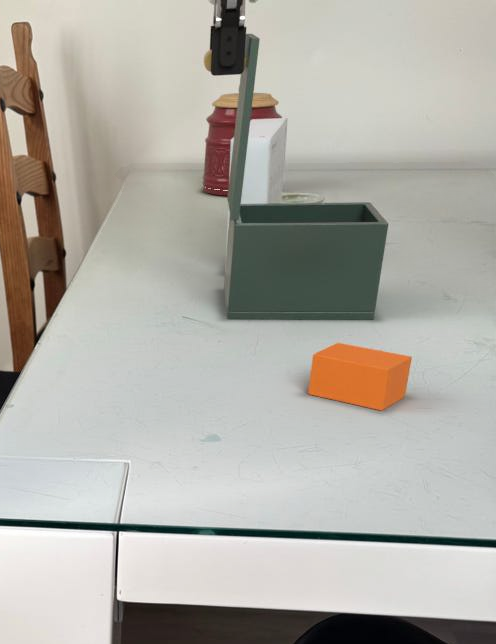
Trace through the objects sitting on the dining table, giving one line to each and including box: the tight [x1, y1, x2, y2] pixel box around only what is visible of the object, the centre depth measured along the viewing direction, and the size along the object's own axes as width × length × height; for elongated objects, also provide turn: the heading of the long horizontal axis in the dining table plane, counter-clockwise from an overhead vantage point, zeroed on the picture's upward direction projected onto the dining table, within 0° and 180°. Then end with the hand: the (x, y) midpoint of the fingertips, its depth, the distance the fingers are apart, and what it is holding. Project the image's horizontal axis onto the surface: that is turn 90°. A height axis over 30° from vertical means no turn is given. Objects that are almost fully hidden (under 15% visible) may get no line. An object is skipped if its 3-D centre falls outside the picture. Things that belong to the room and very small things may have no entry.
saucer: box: [282, 192, 325, 203], centre depth 160 cm, size 10×10×2 cm
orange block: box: [307, 342, 413, 412], centre depth 87 cm, size 7×4×4 cm, turn 47°
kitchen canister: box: [201, 84, 283, 197], centre depth 176 cm, size 13×13×18 cm
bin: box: [223, 201, 389, 321], centre depth 112 cm, size 16×13×10 cm
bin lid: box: [203, 33, 260, 220], centre depth 106 cm, size 16×13×5 cm
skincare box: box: [224, 117, 288, 271], centre depth 131 cm, size 21×5×16 cm, turn 162°
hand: (225, 71), depth 103 cm, fingers open, 9 cm apart
